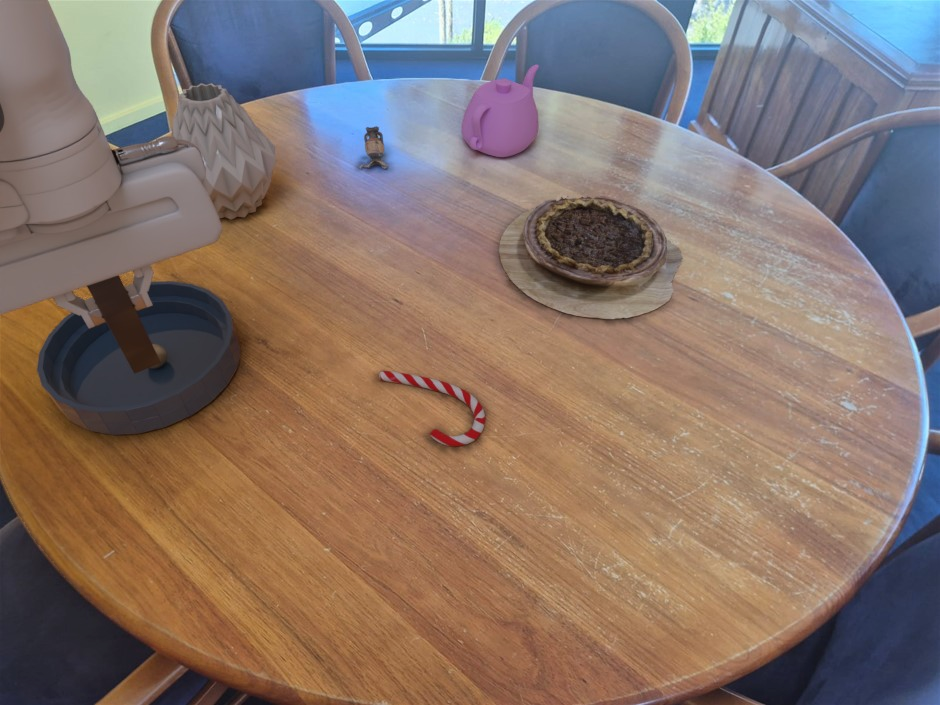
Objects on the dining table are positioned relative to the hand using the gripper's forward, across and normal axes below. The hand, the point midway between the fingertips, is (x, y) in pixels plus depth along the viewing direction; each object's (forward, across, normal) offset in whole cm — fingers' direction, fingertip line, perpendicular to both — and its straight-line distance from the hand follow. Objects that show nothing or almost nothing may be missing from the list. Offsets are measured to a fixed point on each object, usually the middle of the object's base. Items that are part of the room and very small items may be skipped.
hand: (119, 313), depth 53 cm
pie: (+21, -61, -1) cm, 65 cm away
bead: (+19, -1, -14) cm, 24 cm away
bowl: (+21, 0, -15) cm, 26 cm away
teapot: (+21, -72, -36) cm, 83 cm away
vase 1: (+21, -22, -42) cm, 52 cm away
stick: (+6, 0, 0) cm, 6 cm away
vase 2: (+21, -48, -42) cm, 67 cm away
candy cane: (+21, -25, +10) cm, 34 cm away
